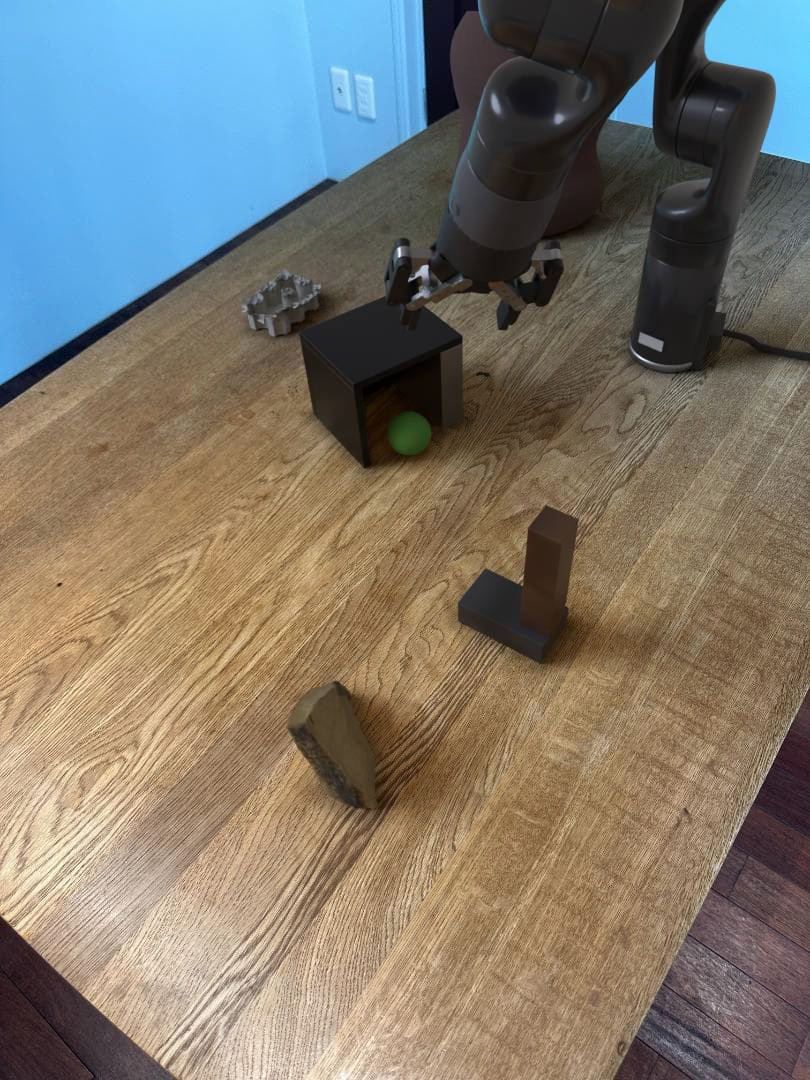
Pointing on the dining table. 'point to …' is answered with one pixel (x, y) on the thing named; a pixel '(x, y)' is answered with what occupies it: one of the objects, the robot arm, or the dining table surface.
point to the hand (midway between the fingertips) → (455, 321)
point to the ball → (409, 433)
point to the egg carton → (281, 303)
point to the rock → (334, 744)
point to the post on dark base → (527, 591)
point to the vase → (470, 75)
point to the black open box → (381, 369)
